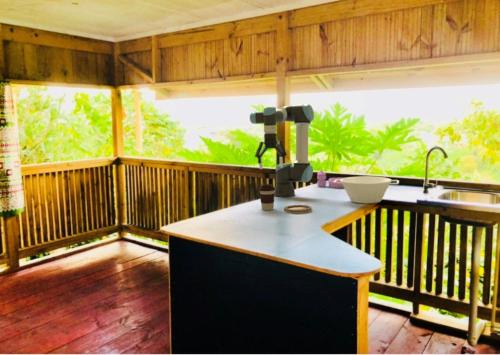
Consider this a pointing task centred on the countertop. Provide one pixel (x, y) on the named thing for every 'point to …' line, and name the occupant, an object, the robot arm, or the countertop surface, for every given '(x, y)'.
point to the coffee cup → (267, 196)
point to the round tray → (297, 209)
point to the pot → (366, 188)
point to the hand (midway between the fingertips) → (271, 168)
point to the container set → (322, 182)
